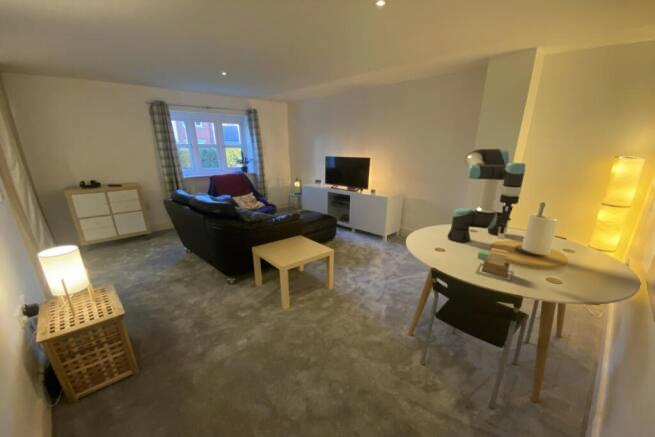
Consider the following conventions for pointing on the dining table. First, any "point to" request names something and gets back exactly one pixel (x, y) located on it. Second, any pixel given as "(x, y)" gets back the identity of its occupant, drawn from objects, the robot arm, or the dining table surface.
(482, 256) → the teal cube
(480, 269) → the grey flat square plate
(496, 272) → the walnut foundation
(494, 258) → the oak block
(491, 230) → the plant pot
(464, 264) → the dining table surface
